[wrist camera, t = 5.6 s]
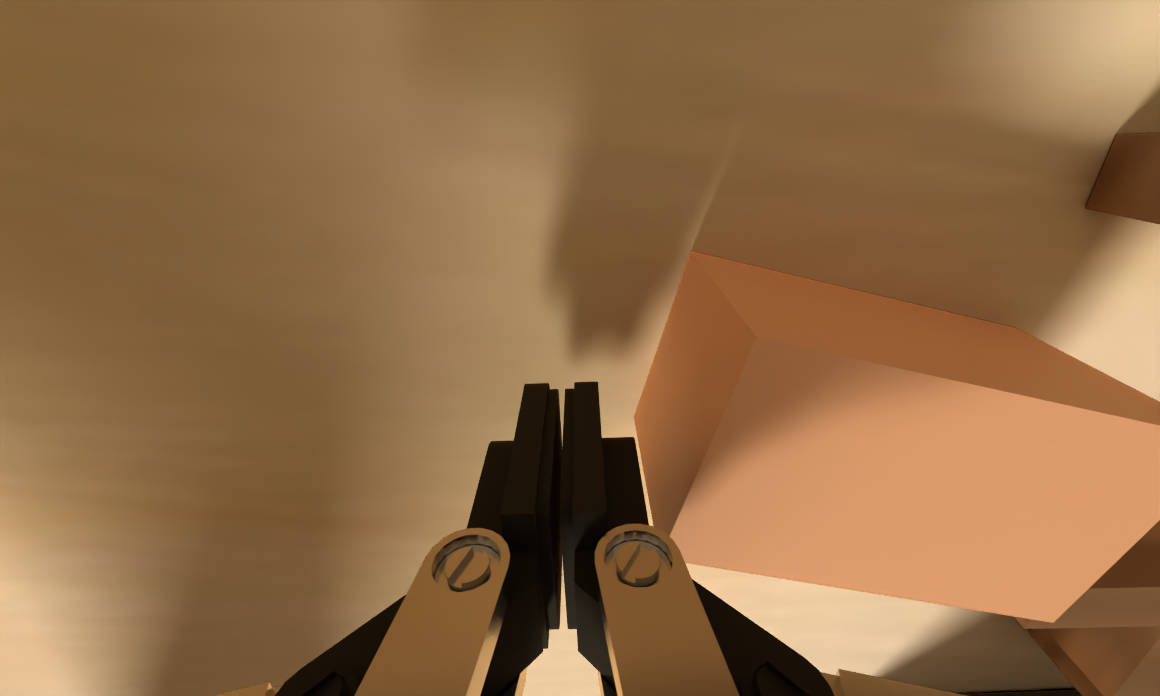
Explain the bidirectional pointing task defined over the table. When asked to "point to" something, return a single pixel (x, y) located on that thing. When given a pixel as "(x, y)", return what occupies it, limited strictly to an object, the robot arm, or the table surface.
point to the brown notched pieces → (1155, 562)
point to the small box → (1031, 693)
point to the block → (888, 446)
